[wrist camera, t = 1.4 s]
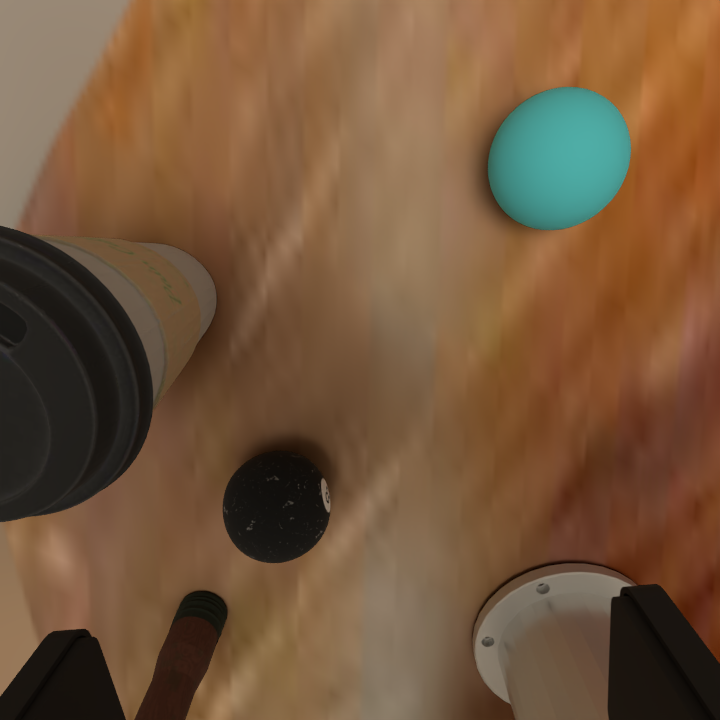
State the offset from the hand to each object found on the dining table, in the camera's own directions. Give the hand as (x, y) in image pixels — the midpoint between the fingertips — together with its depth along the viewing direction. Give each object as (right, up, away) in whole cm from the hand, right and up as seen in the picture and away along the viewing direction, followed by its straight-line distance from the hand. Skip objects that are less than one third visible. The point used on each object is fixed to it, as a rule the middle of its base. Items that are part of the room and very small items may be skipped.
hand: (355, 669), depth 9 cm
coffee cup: (-11, +9, +19) cm, 24 cm away
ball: (+9, +15, +14) cm, 22 cm away
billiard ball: (-5, -2, +23) cm, 23 cm away
